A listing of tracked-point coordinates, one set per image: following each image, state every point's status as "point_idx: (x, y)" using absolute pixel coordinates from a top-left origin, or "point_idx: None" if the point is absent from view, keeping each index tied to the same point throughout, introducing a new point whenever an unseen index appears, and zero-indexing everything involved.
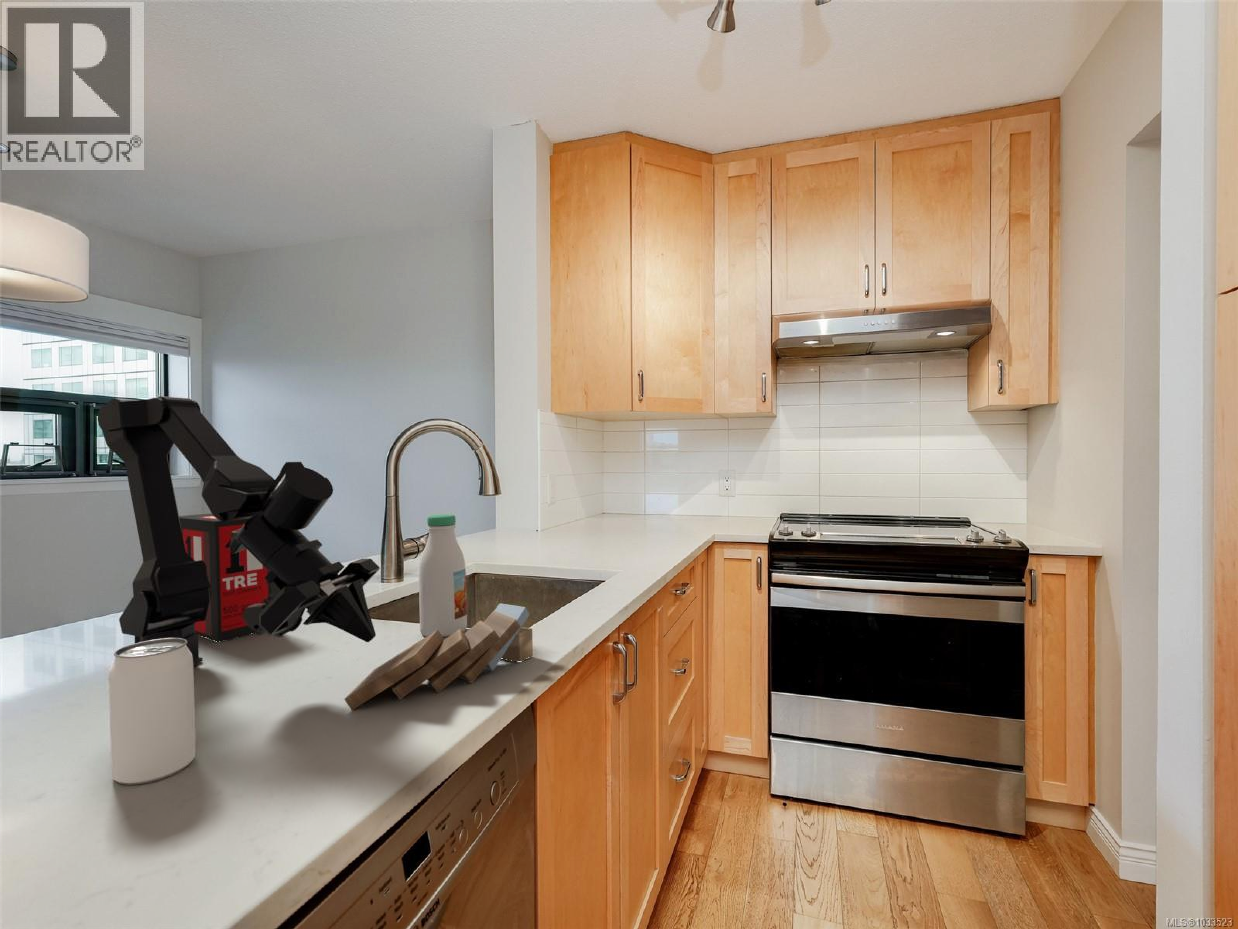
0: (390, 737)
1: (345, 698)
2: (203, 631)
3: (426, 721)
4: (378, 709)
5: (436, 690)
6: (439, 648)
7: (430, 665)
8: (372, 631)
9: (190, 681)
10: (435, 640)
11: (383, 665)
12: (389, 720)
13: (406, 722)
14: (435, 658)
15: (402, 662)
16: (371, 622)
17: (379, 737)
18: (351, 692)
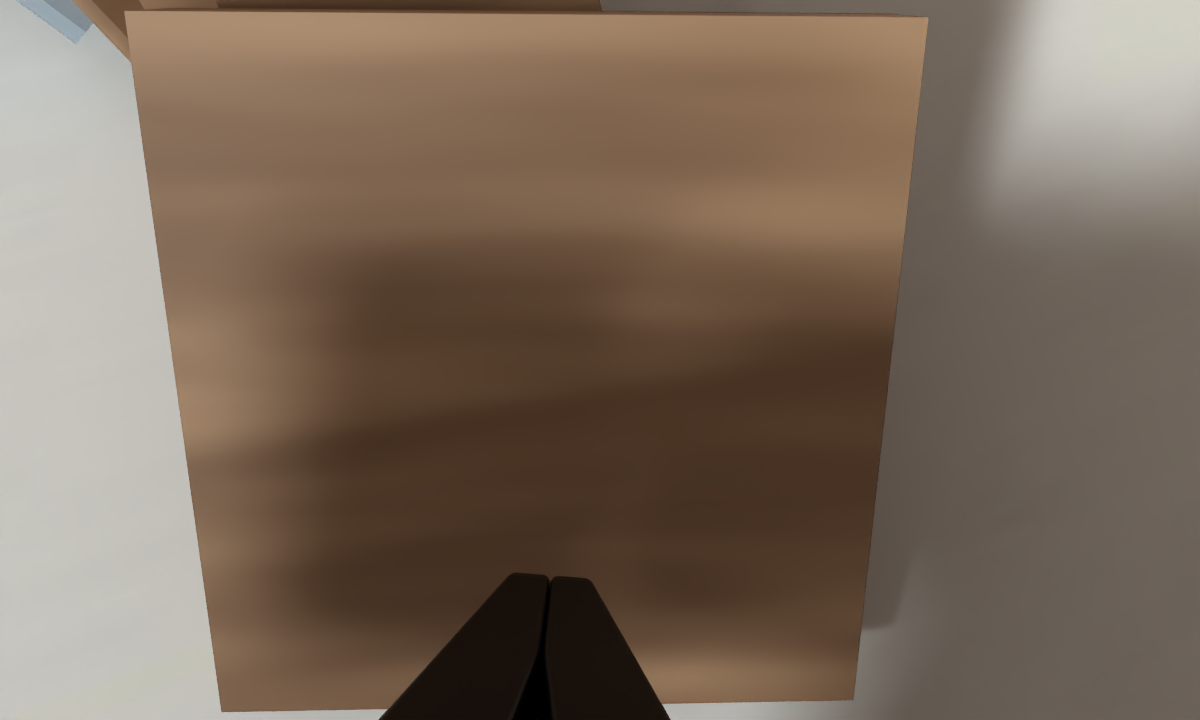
0: (1185, 236)
1: (853, 690)
2: None
3: (977, 96)
4: None
5: None
6: (399, 7)
7: None
8: (544, 603)
9: None
10: (359, 10)
11: (331, 587)
12: (969, 321)
13: (994, 208)
14: (598, 7)
15: (909, 169)
16: (466, 650)
17: (1189, 299)
18: (743, 692)
